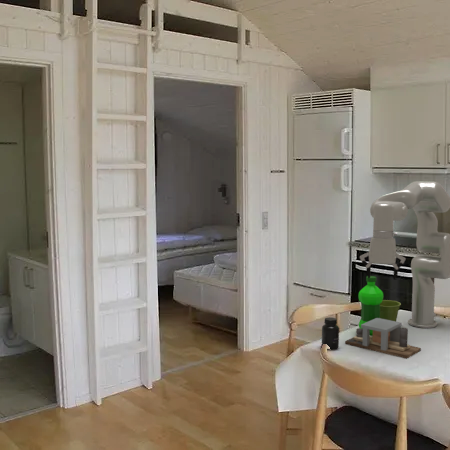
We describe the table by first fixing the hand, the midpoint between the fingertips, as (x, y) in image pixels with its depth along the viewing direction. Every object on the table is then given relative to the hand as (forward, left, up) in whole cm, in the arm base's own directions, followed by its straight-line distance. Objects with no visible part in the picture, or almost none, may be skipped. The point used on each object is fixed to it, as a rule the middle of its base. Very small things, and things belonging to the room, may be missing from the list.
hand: (381, 278), depth 233 cm
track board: (-3, -1, -29) cm, 29 cm away
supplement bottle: (+11, -17, -29) cm, 35 cm away
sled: (-4, -2, -27) cm, 28 cm away
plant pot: (-30, -13, -29) cm, 43 cm away
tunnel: (-4, -2, -28) cm, 28 cm away
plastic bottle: (-17, -14, -29) cm, 36 cm away
